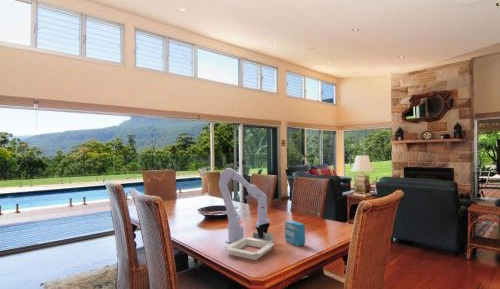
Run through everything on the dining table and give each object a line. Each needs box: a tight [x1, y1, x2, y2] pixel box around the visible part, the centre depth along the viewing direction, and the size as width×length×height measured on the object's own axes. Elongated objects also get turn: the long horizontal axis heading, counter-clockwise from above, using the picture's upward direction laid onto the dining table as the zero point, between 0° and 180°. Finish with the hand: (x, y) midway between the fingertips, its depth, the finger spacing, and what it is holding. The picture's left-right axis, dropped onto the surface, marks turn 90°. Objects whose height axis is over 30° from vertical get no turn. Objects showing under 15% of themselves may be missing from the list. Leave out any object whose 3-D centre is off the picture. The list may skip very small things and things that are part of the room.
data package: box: [284, 220, 306, 247], centre depth 167 cm, size 12×4×12 cm, turn 36°
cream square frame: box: [224, 237, 276, 261], centre depth 154 cm, size 22×21×4 cm
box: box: [252, 230, 274, 242], centre depth 171 cm, size 4×11×5 cm, turn 59°
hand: (262, 236), depth 171 cm, fingers closed on box, 4 cm apart
